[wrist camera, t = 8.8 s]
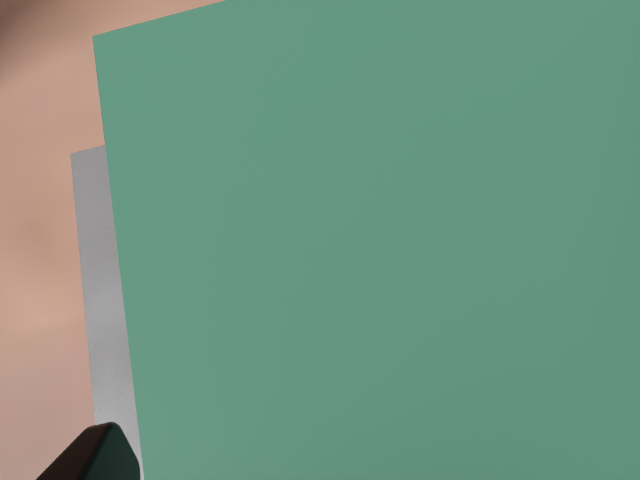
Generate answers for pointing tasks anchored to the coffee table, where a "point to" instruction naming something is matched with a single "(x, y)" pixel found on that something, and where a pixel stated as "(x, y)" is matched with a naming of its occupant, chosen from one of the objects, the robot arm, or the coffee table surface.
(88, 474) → the robot arm
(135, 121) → the green block
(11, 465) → the coffee table surface
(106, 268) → the chassis
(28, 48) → the coffee table surface
